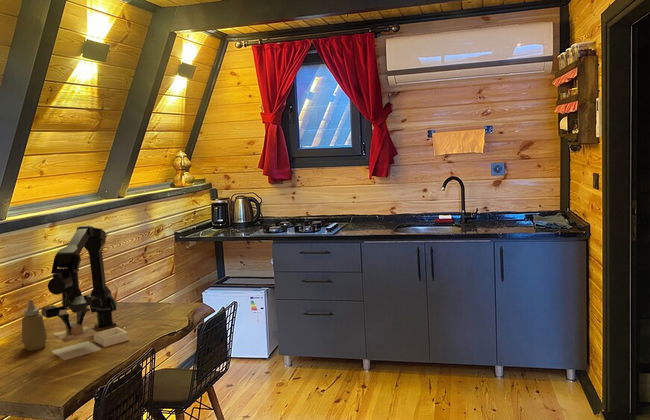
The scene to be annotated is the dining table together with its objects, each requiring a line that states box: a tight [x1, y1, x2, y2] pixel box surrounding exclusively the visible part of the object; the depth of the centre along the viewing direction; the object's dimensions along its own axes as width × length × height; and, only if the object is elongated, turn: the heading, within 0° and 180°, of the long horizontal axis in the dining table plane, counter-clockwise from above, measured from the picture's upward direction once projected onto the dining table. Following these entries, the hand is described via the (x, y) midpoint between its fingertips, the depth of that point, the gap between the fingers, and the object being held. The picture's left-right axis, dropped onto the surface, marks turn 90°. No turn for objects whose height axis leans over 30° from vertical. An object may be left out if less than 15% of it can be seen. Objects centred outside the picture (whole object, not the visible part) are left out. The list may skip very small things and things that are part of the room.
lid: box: [52, 320, 98, 343], centre depth 201 cm, size 11×11×4 cm
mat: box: [51, 340, 103, 361], centre depth 203 cm, size 13×13×1 cm
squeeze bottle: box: [21, 299, 48, 351], centre depth 206 cm, size 8×8×18 cm
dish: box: [93, 326, 129, 348], centre depth 211 cm, size 9×9×4 cm
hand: (74, 330), depth 202 cm, fingers closed on lid, 3 cm apart
